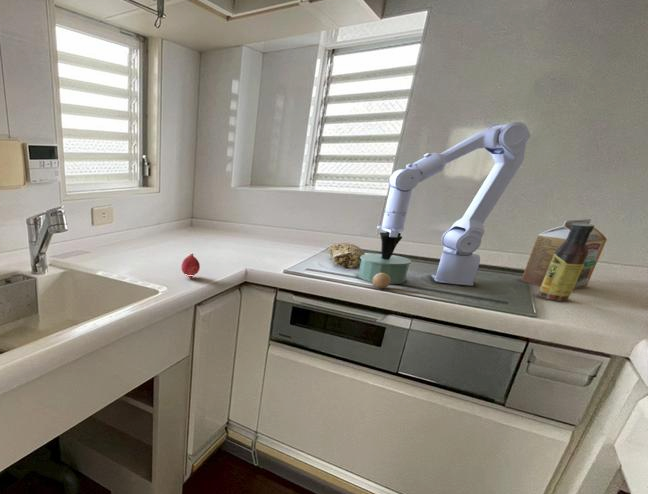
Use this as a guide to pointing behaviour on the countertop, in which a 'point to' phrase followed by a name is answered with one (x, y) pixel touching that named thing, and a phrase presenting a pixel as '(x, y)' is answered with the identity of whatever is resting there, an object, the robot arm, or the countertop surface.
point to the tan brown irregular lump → (346, 254)
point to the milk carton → (549, 245)
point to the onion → (190, 265)
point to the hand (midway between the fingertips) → (385, 256)
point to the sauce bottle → (566, 264)
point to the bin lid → (385, 259)
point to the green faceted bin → (383, 271)
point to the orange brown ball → (381, 280)
